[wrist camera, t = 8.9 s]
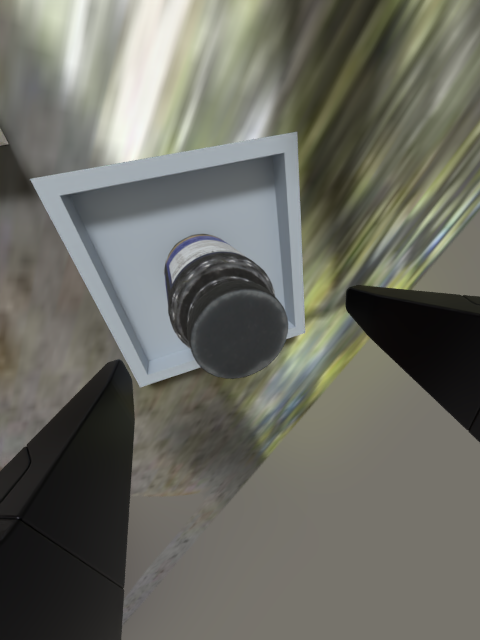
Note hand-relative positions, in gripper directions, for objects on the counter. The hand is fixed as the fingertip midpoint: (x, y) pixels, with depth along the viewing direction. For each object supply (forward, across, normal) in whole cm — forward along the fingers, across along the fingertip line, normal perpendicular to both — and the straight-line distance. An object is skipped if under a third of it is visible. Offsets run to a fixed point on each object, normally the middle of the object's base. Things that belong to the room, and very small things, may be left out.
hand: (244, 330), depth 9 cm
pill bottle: (+12, 0, +1) cm, 13 cm away
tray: (+13, 0, +1) cm, 13 cm away
